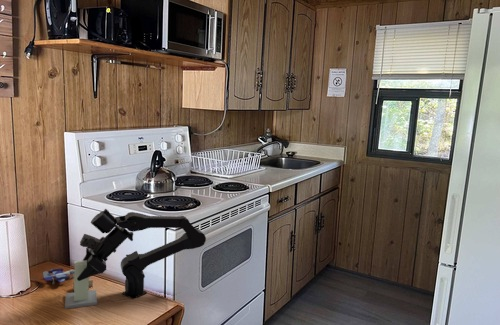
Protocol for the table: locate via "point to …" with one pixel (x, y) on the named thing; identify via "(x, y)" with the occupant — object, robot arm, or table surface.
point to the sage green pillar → (80, 282)
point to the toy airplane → (57, 275)
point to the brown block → (89, 283)
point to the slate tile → (73, 304)
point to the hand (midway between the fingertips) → (77, 274)
